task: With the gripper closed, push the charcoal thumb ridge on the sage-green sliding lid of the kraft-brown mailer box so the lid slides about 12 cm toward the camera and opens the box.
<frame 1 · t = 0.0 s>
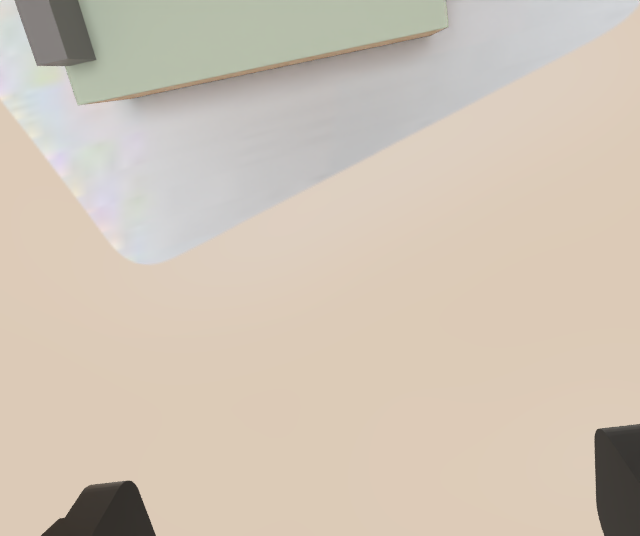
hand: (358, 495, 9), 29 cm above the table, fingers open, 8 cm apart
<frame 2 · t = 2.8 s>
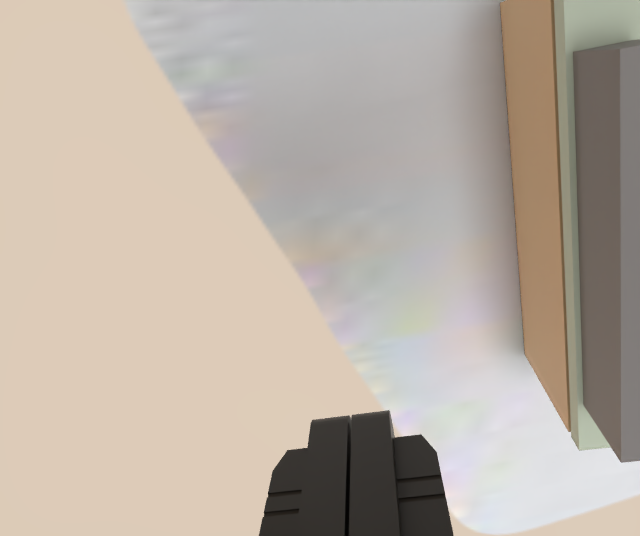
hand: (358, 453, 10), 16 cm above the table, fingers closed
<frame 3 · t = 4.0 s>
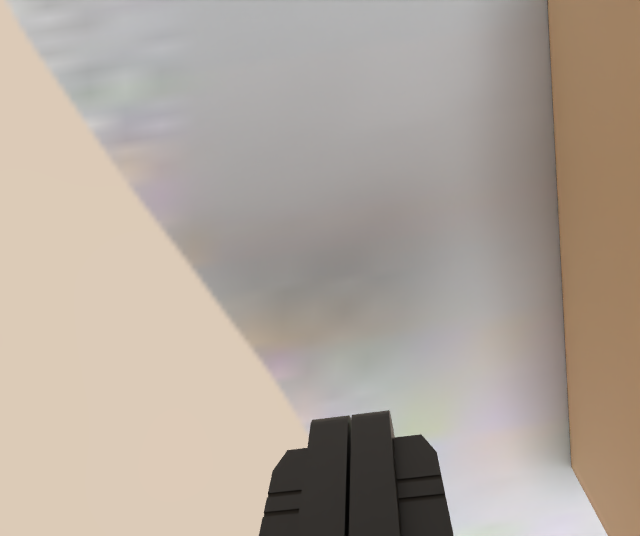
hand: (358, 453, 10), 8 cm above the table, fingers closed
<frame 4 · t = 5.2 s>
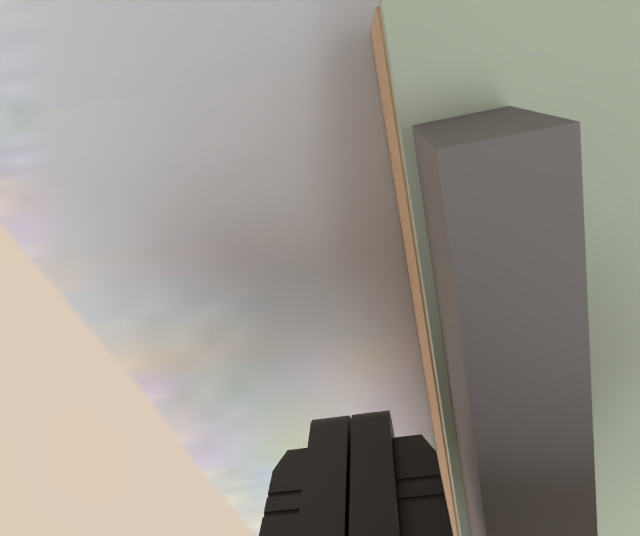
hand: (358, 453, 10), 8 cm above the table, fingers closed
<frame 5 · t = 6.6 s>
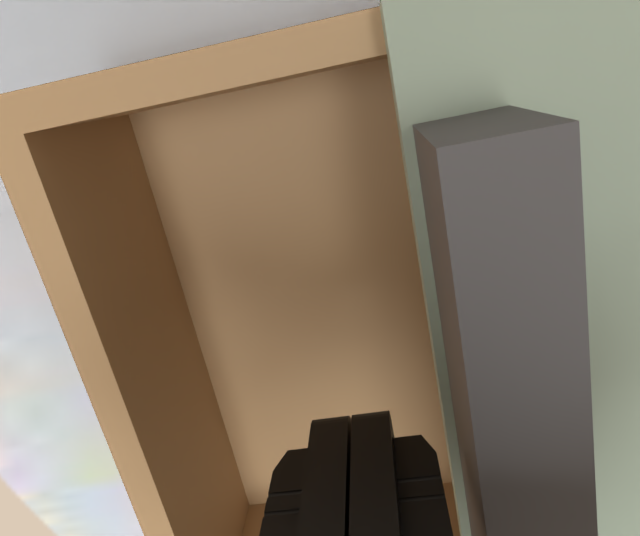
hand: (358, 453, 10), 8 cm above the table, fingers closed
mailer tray: (473, 281, 17), on the table
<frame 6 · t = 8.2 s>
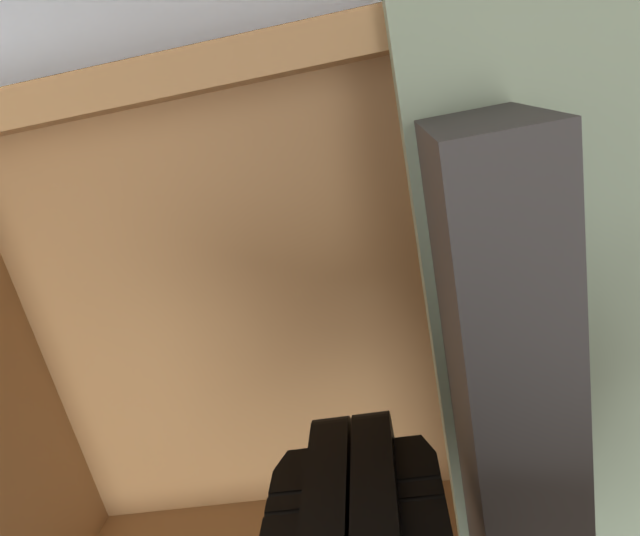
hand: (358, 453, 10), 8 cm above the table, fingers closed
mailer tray: (304, 305, 18), on the table
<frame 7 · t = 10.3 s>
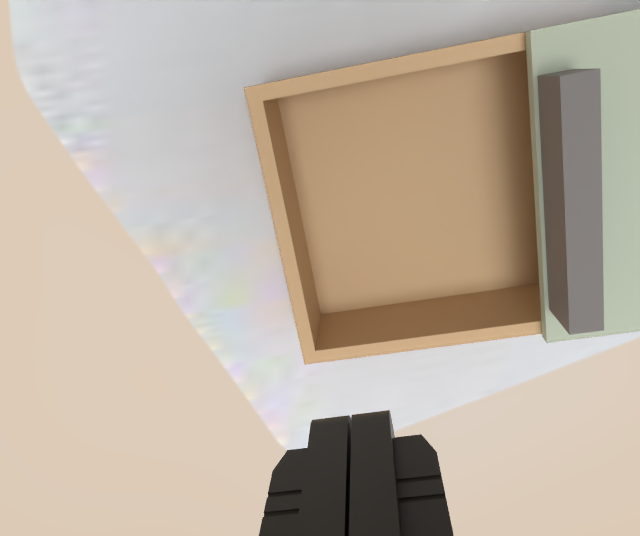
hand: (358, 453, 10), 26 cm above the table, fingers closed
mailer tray: (443, 186, 34), on the table
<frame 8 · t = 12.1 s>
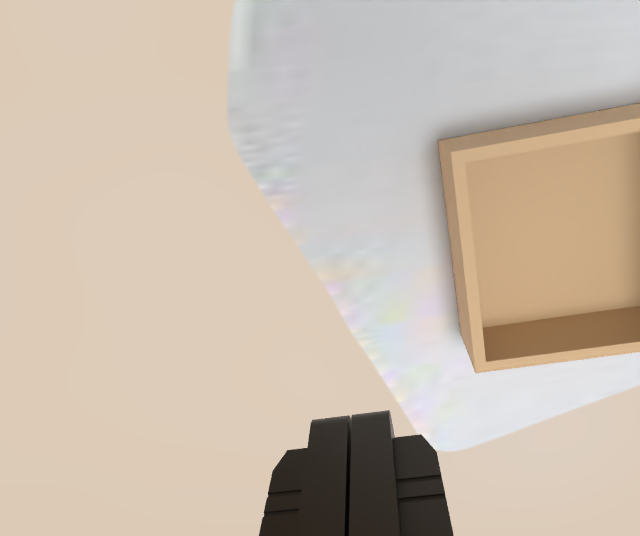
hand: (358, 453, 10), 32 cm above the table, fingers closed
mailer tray: (584, 222, 41), on the table
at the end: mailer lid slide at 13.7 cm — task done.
